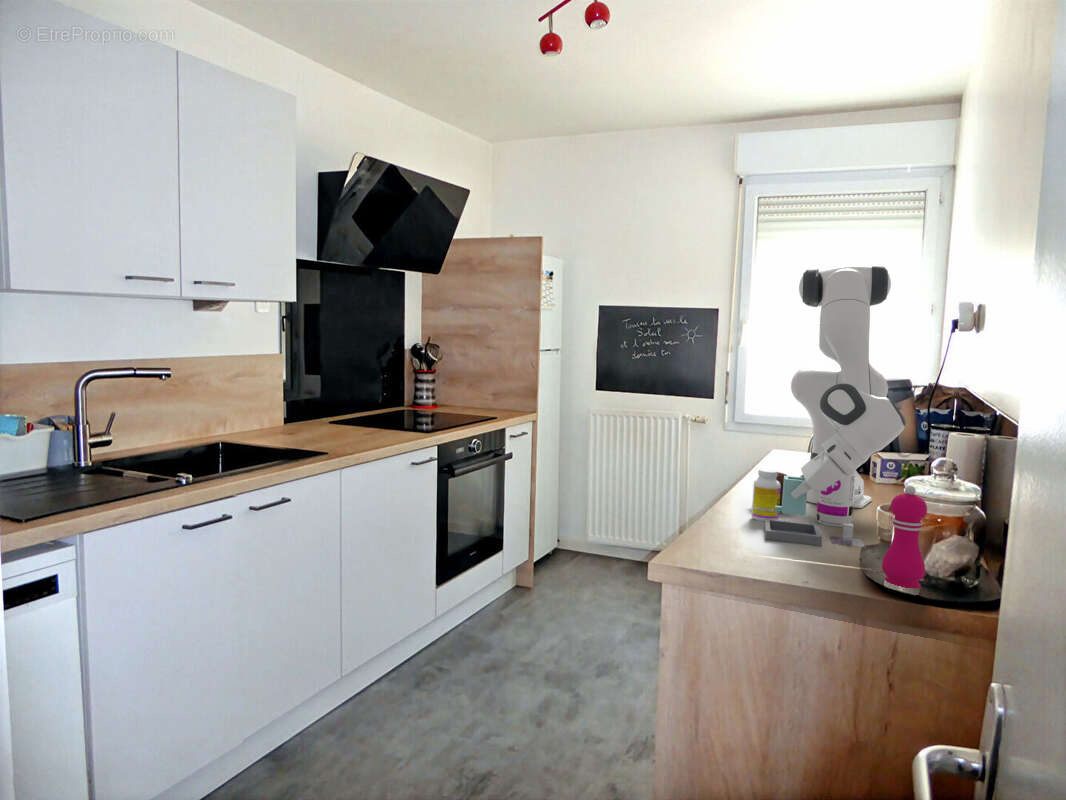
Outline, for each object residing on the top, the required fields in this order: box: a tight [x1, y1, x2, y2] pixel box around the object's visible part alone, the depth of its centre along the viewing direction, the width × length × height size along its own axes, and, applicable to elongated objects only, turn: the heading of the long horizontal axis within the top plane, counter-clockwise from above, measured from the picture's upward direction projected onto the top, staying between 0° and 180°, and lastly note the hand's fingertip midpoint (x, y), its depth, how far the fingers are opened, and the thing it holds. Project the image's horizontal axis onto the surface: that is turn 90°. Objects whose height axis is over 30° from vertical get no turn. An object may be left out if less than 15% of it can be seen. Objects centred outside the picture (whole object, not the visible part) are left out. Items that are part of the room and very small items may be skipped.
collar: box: [775, 475, 808, 517], centre depth 170 cm, size 5×6×8 cm
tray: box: [764, 519, 823, 547], centre depth 171 cm, size 12×12×2 cm
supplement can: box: [815, 473, 855, 528], centre depth 186 cm, size 8×8×15 cm
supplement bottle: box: [751, 468, 781, 522], centre depth 188 cm, size 7×7×13 cm
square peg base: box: [829, 523, 865, 548], centre depth 169 cm, size 7×7×4 cm
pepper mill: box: [881, 485, 928, 589], centre depth 136 cm, size 7×7×20 cm
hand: (791, 493), depth 170 cm, fingers closed on collar, 5 cm apart
